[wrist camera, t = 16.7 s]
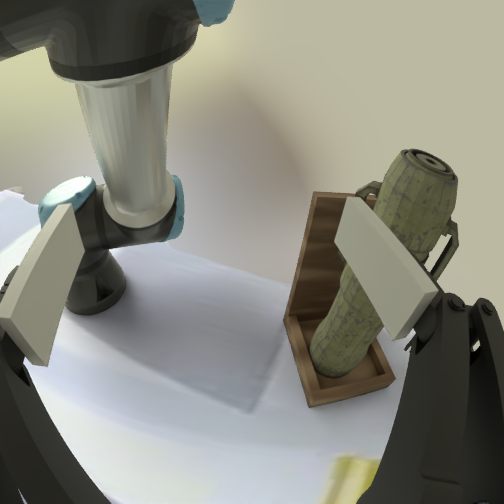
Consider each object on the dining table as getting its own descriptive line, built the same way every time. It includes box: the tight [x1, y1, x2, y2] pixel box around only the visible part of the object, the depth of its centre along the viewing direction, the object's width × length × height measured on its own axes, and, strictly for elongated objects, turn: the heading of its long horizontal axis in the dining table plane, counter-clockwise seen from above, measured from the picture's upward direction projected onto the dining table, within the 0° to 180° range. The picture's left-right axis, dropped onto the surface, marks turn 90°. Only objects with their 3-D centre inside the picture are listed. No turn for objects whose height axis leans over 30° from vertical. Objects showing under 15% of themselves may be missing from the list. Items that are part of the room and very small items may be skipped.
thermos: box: [308, 149, 459, 379], centre depth 32 cm, size 9×12×35 cm
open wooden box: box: [283, 192, 396, 408], centre depth 38 cm, size 18×15×26 cm
